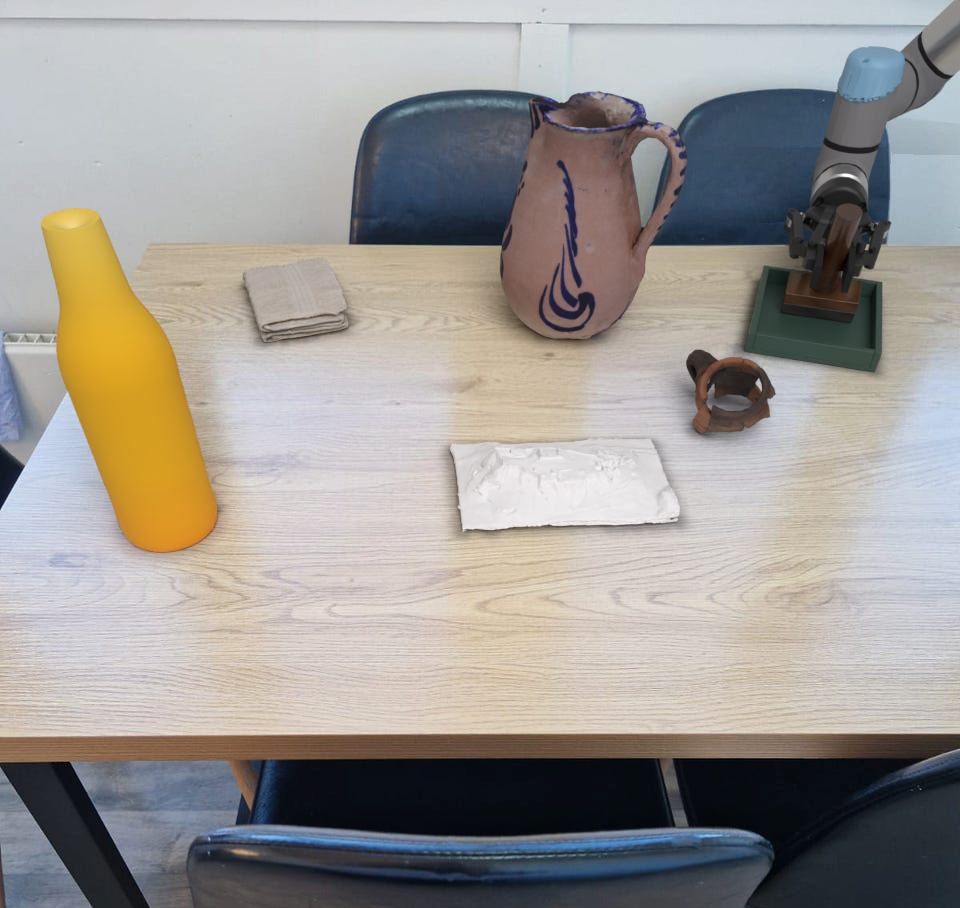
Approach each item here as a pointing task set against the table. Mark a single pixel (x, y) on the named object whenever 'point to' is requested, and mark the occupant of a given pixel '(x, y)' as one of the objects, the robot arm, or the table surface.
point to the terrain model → (562, 484)
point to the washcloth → (296, 299)
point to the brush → (828, 275)
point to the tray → (816, 327)
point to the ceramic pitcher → (582, 214)
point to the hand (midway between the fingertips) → (831, 279)
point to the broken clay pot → (728, 391)
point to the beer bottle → (126, 390)
